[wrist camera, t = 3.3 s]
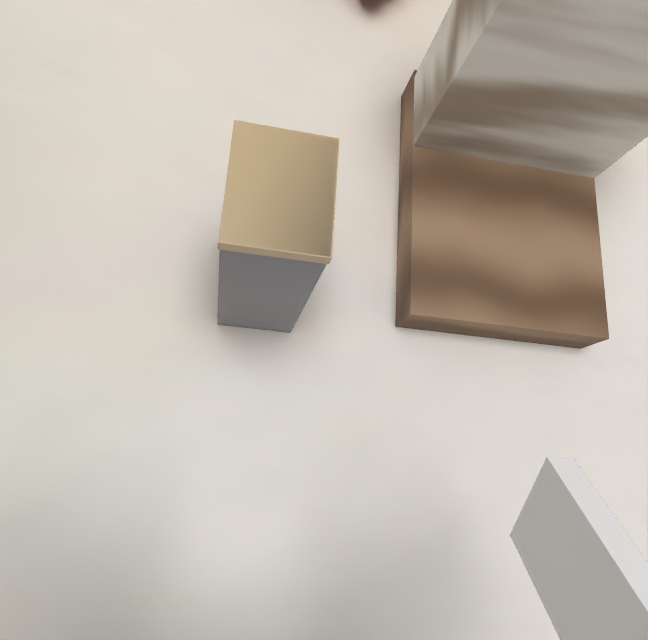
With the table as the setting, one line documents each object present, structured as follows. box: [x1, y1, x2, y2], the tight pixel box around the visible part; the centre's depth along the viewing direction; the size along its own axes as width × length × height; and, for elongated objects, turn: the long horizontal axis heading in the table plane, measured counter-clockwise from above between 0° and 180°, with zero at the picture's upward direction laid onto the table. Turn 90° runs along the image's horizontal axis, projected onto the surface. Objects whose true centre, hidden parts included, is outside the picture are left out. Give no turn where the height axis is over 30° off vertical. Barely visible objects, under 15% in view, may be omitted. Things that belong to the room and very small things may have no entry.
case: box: [218, 120, 339, 332], centre depth 25 cm, size 5×4×11 cm
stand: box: [396, 0, 648, 348], centre depth 27 cm, size 16×12×17 cm
